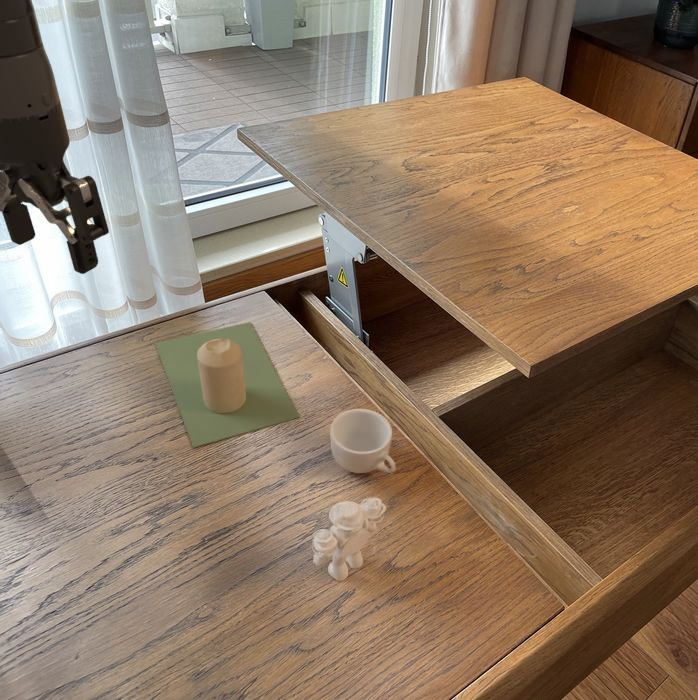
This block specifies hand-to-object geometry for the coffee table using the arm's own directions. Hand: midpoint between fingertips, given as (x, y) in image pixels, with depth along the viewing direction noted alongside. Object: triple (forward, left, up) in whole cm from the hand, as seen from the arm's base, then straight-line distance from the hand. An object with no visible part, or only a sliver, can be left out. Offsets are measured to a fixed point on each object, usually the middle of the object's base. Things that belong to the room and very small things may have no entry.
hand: (55, 254), depth 72 cm
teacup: (+28, -16, -28) cm, 43 cm away
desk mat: (+16, +6, -28) cm, 33 cm away
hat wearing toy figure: (+20, -29, -28) cm, 45 cm away
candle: (+15, +2, -28) cm, 32 cm away
